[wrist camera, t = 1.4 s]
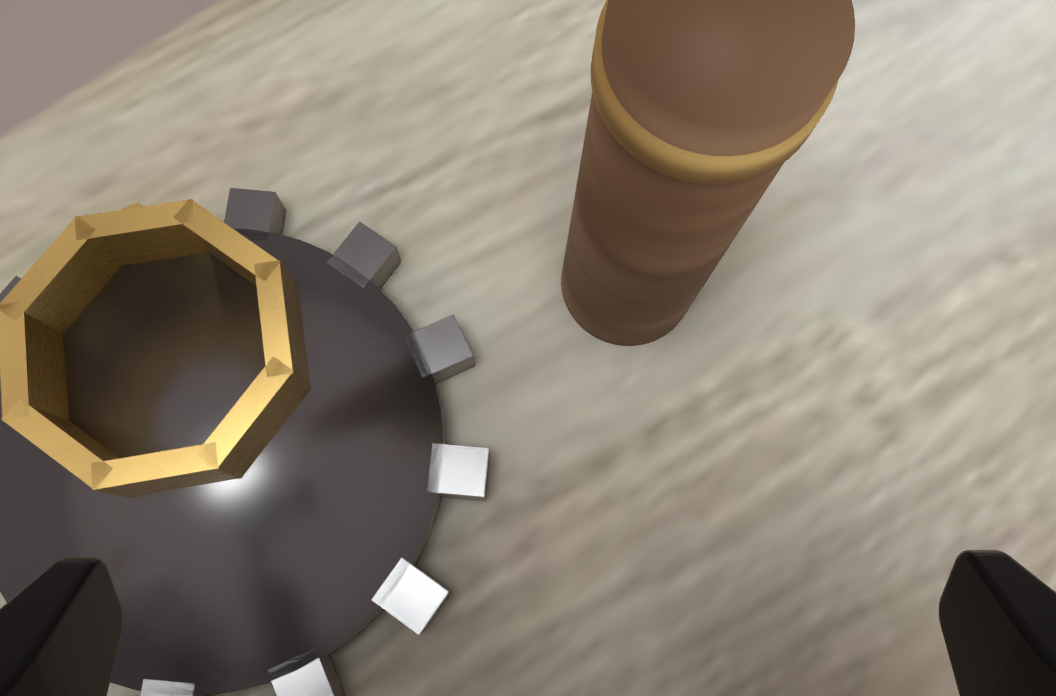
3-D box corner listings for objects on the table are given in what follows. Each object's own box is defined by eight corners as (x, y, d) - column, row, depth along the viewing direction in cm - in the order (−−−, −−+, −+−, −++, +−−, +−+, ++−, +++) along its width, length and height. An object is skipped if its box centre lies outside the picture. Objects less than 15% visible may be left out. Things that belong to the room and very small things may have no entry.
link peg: (721, 266, 26) (908, -12, 14) (647, 376, 25) (774, 184, 13) (607, 192, 26) (690, -140, 14) (530, 298, 26) (549, 41, 13)
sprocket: (591, 391, 25) (602, 364, 22) (263, 860, 22) (223, 906, 19) (189, 117, 27) (147, 55, 24) (-163, 520, 24) (-264, 510, 21)
